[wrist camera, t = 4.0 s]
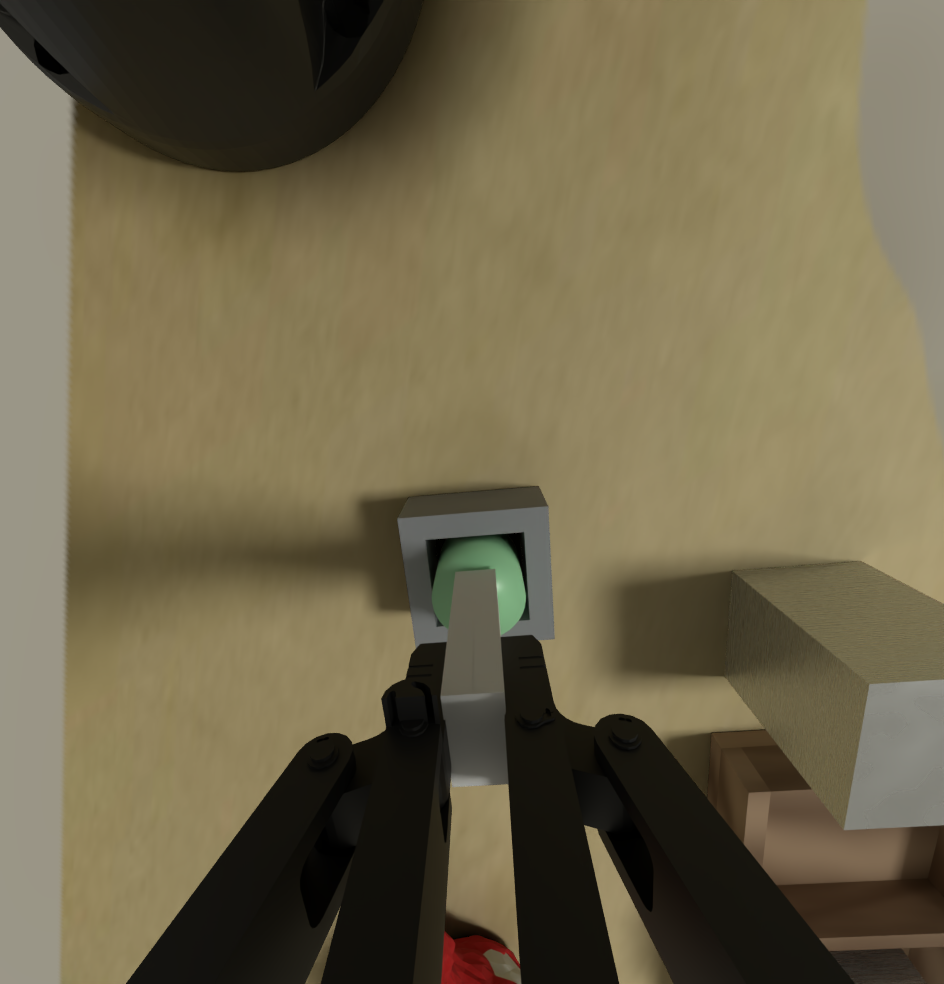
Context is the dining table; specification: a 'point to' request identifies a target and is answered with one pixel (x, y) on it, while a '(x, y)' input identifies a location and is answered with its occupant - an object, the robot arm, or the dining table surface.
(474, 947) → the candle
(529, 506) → the button housing
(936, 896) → the wooden cubby shelf
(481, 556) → the button
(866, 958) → the block
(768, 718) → the block
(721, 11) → the dining table surface
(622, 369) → the dining table surface
